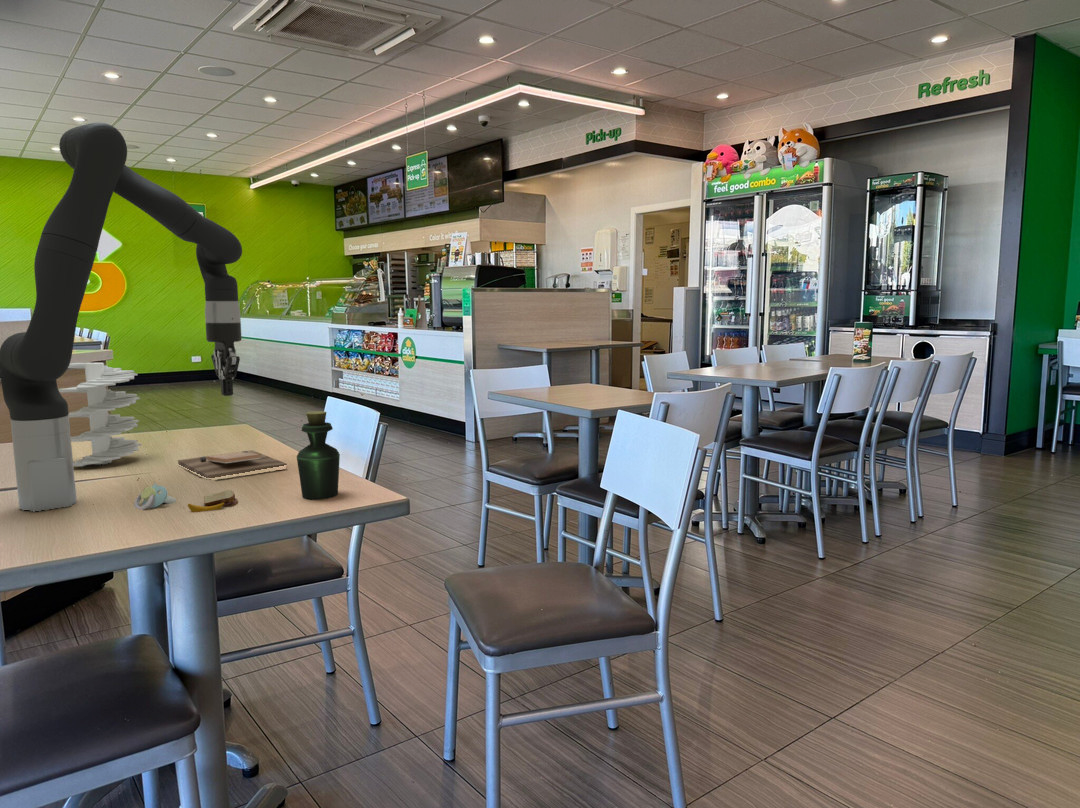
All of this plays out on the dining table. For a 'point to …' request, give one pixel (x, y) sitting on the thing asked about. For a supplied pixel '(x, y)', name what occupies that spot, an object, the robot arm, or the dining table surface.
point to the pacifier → (153, 497)
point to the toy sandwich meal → (216, 501)
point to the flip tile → (234, 457)
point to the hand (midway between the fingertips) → (227, 395)
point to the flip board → (228, 465)
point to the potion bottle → (318, 460)
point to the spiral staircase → (104, 413)
